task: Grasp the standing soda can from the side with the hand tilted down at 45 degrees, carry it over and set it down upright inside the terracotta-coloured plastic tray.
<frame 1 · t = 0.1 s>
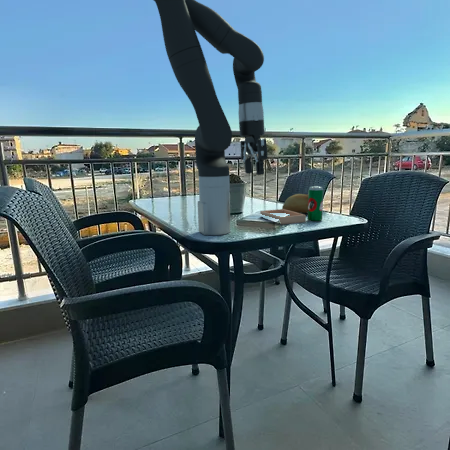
hand: (254, 173, 101), 17 cm above the table, tool pointing down, fingers open, 8 cm apart
bread roll: (301, 214, 129), on the table
soda can: (314, 221, 114), on the table
tray: (281, 219, 117), on the table
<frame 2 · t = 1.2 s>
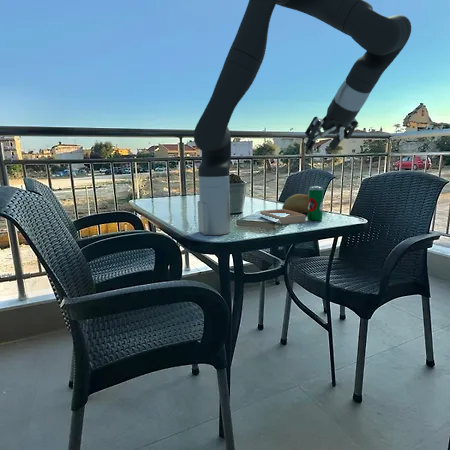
hand: (319, 148, 96), 25 cm above the table, tool tilted 45°, fingers open, 8 cm apart
nothing on the table moved.
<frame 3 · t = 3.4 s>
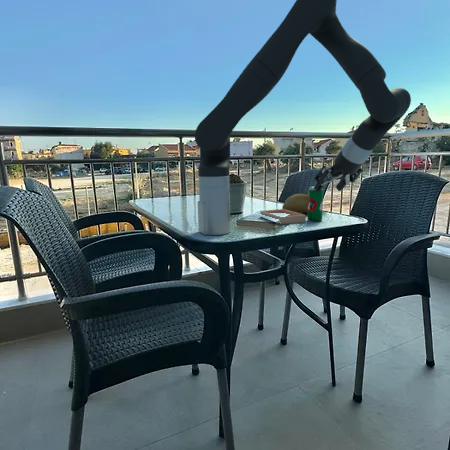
hand: (327, 189, 106), 11 cm above the table, tool tilted 45°, fingers open, 8 cm apart
nothing on the table moved.
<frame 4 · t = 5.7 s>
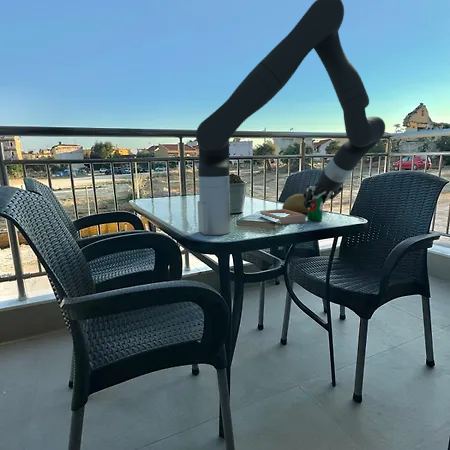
hand: (312, 205, 115), 5 cm above the table, tool tilted 45°, fingers closed on soda can, 5 cm apart
soda can: (314, 221, 114), on the table, touching gripper
everything else where it was.
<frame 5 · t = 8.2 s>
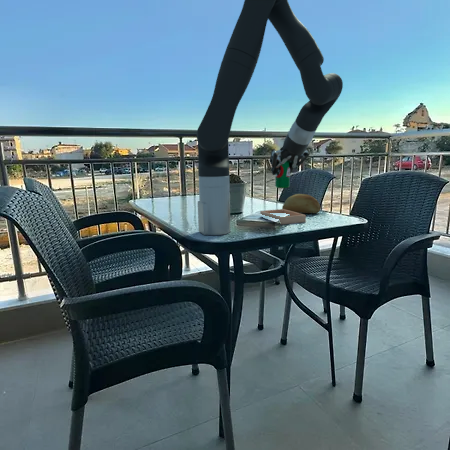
hand: (280, 172, 115), 17 cm above the table, tool tilted 45°, fingers closed on soda can, 5 cm apart
soda can: (282, 188, 115), point 11 cm above the table, touching gripper
everything else where it was.
when the fingers open (7 cm above the table, at t = 10.5 s): soda can drops 1 cm, resting on tray.
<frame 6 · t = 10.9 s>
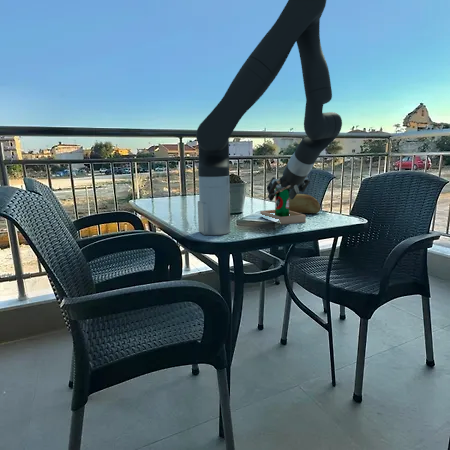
hand: (280, 198, 117), 8 cm above the table, tool tilted 45°, fingers open, 8 cm apart
soda can: (282, 218, 117), resting on tray
everything else where it was.
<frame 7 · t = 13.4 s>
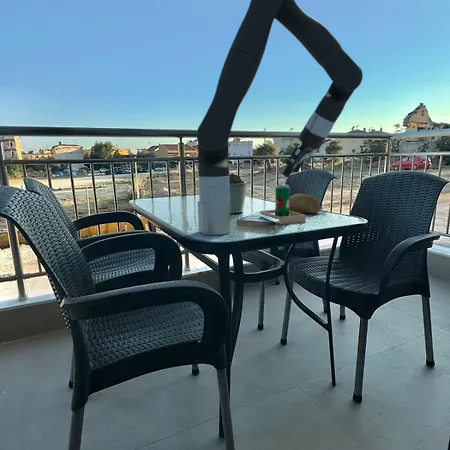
hand: (290, 173, 108), 17 cm above the table, tool tilted 35°, fingers open, 8 cm apart
nothing on the table moved.
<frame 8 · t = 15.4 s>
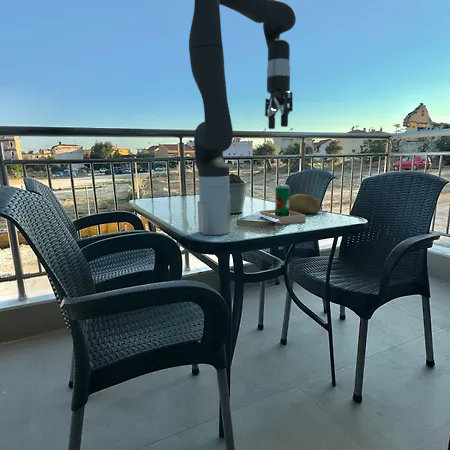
hand: (277, 127, 109), 32 cm above the table, tool pointing down, fingers open, 8 cm apart
nothing on the table moved.
at the end: soda can inside the target area on the tray (0.2 cm from its centre), point 0.4 cm above the tray's base; soda can tilted 0°; the gripper is holding nothing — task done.
